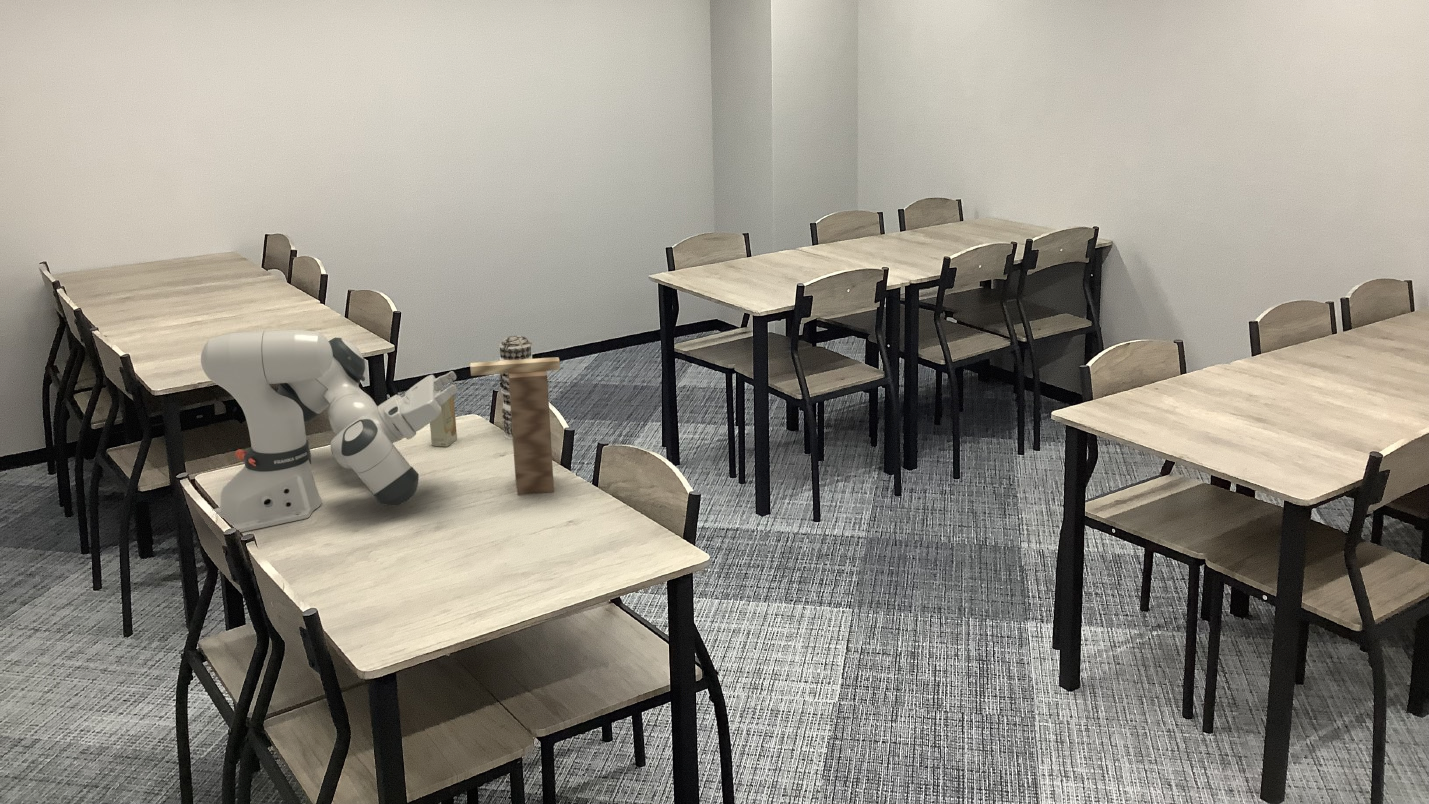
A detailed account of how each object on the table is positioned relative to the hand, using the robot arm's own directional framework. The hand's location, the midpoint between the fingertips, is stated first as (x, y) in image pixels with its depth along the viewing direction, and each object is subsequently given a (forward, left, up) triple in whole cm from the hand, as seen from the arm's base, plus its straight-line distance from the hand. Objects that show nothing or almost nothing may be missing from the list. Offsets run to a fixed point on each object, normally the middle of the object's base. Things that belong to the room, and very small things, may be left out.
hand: (455, 380), depth 259 cm
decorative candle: (+29, +22, -26) cm, 44 cm away
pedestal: (+13, -9, -25) cm, 30 cm away
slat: (+11, -8, +2) cm, 13 cm away
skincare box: (+12, +30, -26) cm, 41 cm away
